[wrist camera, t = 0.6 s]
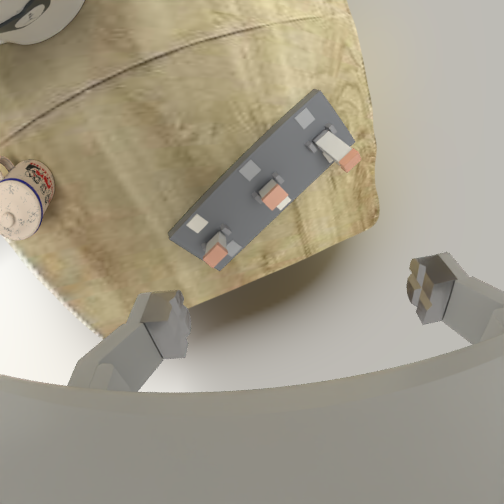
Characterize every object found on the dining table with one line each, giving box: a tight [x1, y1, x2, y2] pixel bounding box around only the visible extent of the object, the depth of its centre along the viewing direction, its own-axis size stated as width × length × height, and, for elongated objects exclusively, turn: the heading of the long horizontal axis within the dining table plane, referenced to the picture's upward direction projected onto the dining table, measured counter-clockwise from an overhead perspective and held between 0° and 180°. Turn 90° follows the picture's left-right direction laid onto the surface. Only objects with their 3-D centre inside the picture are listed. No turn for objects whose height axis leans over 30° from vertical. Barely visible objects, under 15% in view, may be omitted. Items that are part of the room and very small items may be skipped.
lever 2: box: [313, 129, 361, 173], centre depth 44 cm, size 2×3×8 cm, turn 132°
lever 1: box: [203, 231, 228, 268], centre depth 48 cm, size 2×3×8 cm, turn 132°
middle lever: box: [259, 179, 288, 211], centre depth 46 cm, size 2×3×8 cm, turn 132°
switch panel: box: [168, 89, 355, 271], centre depth 50 cm, size 12×34×4 cm, turn 132°
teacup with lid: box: [0, 156, 55, 240], centre depth 32 cm, size 12×9×12 cm
